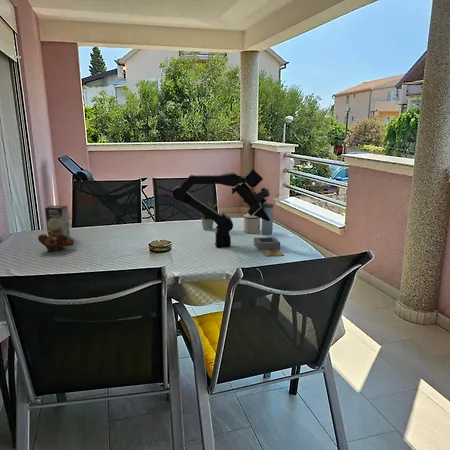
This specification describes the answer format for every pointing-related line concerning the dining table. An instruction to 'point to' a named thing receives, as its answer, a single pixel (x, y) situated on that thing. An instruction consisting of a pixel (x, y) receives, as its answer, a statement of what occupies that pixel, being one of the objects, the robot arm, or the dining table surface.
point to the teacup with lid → (251, 224)
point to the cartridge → (267, 225)
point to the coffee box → (57, 220)
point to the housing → (266, 243)
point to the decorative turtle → (55, 241)
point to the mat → (272, 252)
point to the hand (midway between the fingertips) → (270, 219)
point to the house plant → (207, 220)
